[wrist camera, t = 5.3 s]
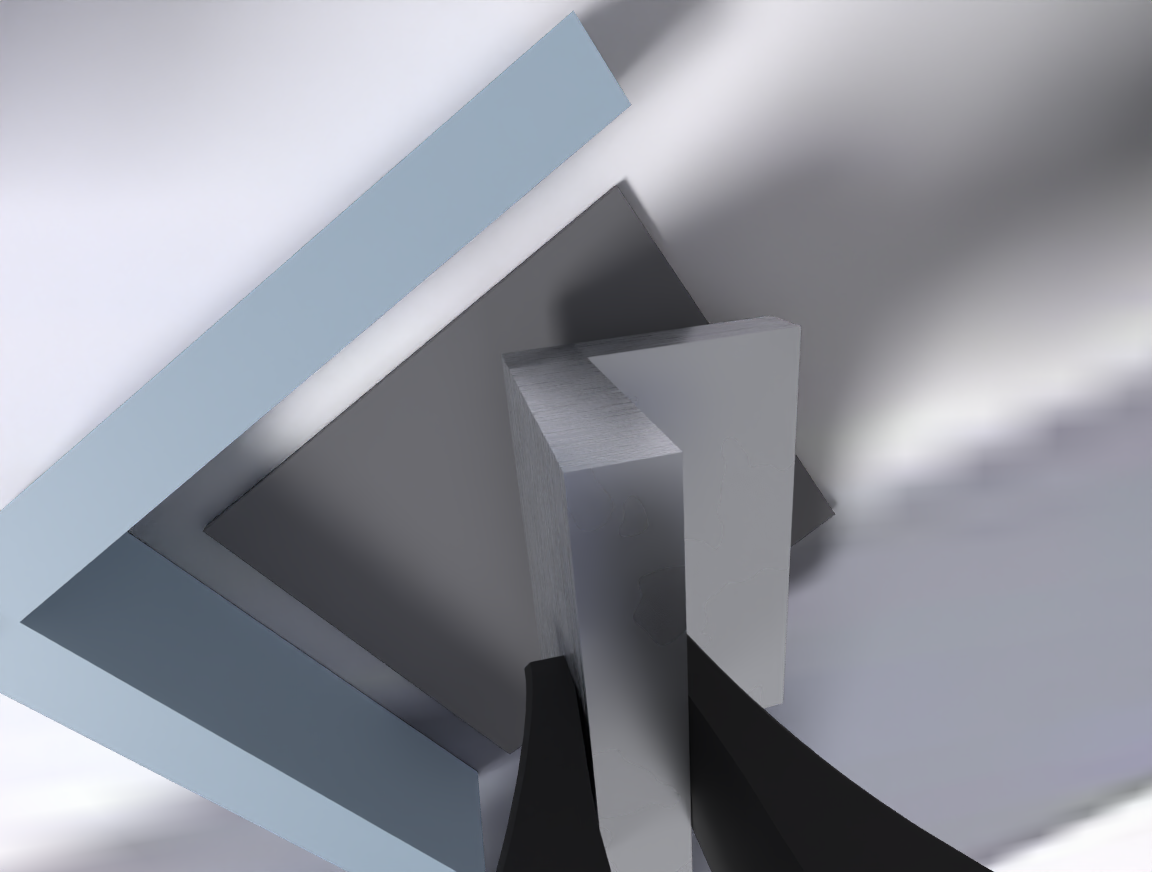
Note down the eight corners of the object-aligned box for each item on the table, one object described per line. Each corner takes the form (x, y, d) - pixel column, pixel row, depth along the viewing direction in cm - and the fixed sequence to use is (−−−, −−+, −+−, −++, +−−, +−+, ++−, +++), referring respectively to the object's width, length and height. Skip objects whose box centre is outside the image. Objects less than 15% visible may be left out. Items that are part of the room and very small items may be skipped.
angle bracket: (501, 353, 13) (563, 472, 8) (771, 315, 14) (993, 396, 9) (549, 724, 17) (614, 981, 11) (760, 671, 18) (911, 882, 13)
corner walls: (-5, 517, 14) (-131, 625, 11) (536, 45, 12) (573, 10, 9) (440, 799, 20) (442, 920, 17) (838, 505, 19) (921, 577, 15)
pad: (205, 526, 15) (203, 531, 15) (615, 186, 14) (617, 186, 14) (509, 749, 20) (509, 754, 20) (831, 510, 19) (835, 514, 18)
